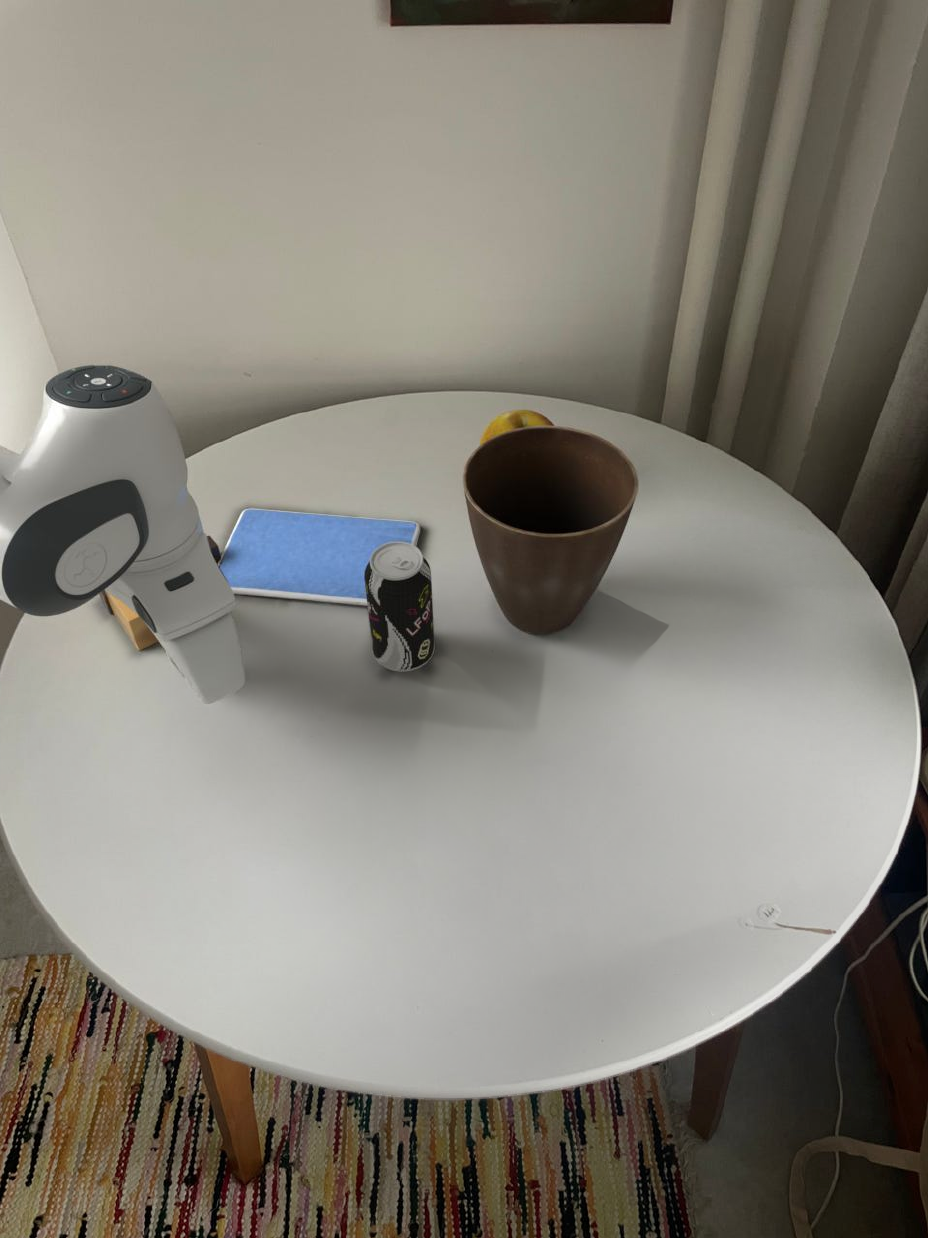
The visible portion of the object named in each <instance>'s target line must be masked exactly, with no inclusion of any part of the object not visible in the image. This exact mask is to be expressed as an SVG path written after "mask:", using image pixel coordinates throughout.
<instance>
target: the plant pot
mask: <svg viewBox="0 0 928 1238" xmlns="http://www.w3.org/2000/svg"><path fill="white" fill-rule="evenodd" d="M462 486H463V487H462V488H463V491H464V498H465V502H466V503H465V504H466V508H467V514H468V520H469V525H470V528H471V529H470V530H471V531H472V536H473V540H474V544H475V547H476V548H475V549H476V550H477V554H478V557H479V560H480V563H481V566H482V569H483V572H484V574H485V577H486V579H487V582H488V584H489V587H490V590H491V591H492V593H493V596H494V598H495V600H496V602H497V604H498V606H499V608H500V610H501V612H502V614H503V616H504V618H505V619H506V620H507V621H508V623H510V625H512V626H513V627H515V628H516V629H518V630H520V631H522V632H525V633H528V634H533V635H543V636H544V635H551V634H556V633H559V632H561V631H564V630H566V629H567V628H569V627H570V626H571V625H572V624H573V623H574V622H575V621H576V619H577V618H578V617H579V615H580V614H581V613H582V611H583V610H584V608H585V607H586V605H587V604H588V603H589V601H590V599H591V598H592V596H594V594H595V591H596V590H597V589H598V587H599V585H600V583H601V581H602V580H603V578H604V576H605V574H606V572H607V570H608V568H609V566H610V564H611V562H612V560H613V558H614V556H615V553H616V551H617V549H618V547H619V545H620V542H621V540H622V538H623V535H624V533H625V530H626V527H627V524H628V521H629V519H630V517H631V513H632V510H633V508H634V504H635V501H636V498H637V495H638V491H639V478H638V474H637V470H636V468H635V467H634V464H633V462H632V461H631V460H630V458H629V457H628V456H627V455H626V454H625V453H624V452H623V450H621V449H620V448H618V446H616V445H615V444H614V443H612V442H610V441H608V440H606V439H605V438H604V437H601V436H599V435H596V434H594V433H592V432H589V431H586V430H582V429H578V428H573V427H568V426H562V425H561V426H560V425H554V426H530V427H524V428H518V429H514V430H510V431H507V432H504V433H502V434H499V435H497V436H495V437H493V438H491V439H489V440H487V441H486V442H484V443H483V444H481V445H480V444H479V445H478V447H477V448H476V449H474V450H473V451H472V452H471V454H470V455H469V456H468V458H467V460H466V462H465V465H464V467H463V470H462Z"/></svg>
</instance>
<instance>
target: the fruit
mask: <svg viewBox="0 0 928 1238" xmlns="http://www.w3.org/2000/svg"><path fill="white" fill-rule="evenodd" d="M530 426H555V424H554V423H553V421H551V420H550V419H549V418H548V417H547V416H545V415H543V414H542V413H539V412H537V411H535V410H530V409H515V410H514V409H513V410H509V411H506V412H503V413H501V414H499V415H498V416H496V417H495V418H493V419H492V421H491V422H490V423H489V424H488V425H487V426H486V428H485V429H484V430H483V433H482V435H481V438H480V440H479V441H480V442H479V446H480V445H481V444H483V443H484V442H486V441H487V440H489V439H491V438H493V437H495V436H497V435H499V434H502V433H504V432H507V431H510V430H514V429H518V428H524V427H530Z"/></svg>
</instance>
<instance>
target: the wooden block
mask: <svg viewBox="0 0 928 1238" xmlns="http://www.w3.org/2000/svg"><path fill="white" fill-rule="evenodd" d="M105 592H106V591H105ZM106 595H107V597H108V600H109V603H110V605H111V608H112V611H113V615H114V616H115V618H116V619H117V621H118V622H119V624H120V625H121V627H122V628H123V630H124V631H125V633H126V634H127V636H128V637H129V639H130V640H131V641H132V643H133V644H134V646H135V647H136V648H137V650H138V651H139V652H140V651H142V650H144V649H146V648H148V647H150V646H152V645H155V644H156V643H158V642H159V641H158V639H157V638H156V637H155V635H154V634H153V633H152V631H151V630H150V629H149V627H148V626H147V624H146V623H145V622H144V621H143V620H142V619H141V618H140V617H139V615H138V614H136V613H135V612H134V611H133V610H131V609H130V608H129V607H127V606H126V605H125V604H124V603H123V602H122V601H121V600H119V599H117V598H115V597H113V596H111V595H110V594H109V593H108V592H106ZM159 643H160V642H159Z"/></svg>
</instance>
